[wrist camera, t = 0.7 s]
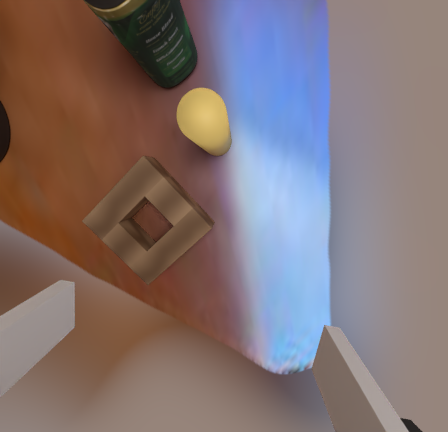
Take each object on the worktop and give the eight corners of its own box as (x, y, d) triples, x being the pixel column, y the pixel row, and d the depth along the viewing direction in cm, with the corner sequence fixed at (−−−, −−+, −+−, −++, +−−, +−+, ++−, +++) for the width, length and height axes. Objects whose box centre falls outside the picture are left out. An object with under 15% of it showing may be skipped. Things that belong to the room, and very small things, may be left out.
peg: (197, 140, 32) (166, 114, 18) (217, 119, 31) (202, 75, 17) (216, 162, 32) (200, 152, 19) (237, 141, 32) (237, 116, 18)
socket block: (99, 216, 35) (82, 221, 31) (154, 158, 33) (143, 155, 29) (157, 273, 37) (148, 285, 33) (214, 222, 34) (211, 228, 30)
